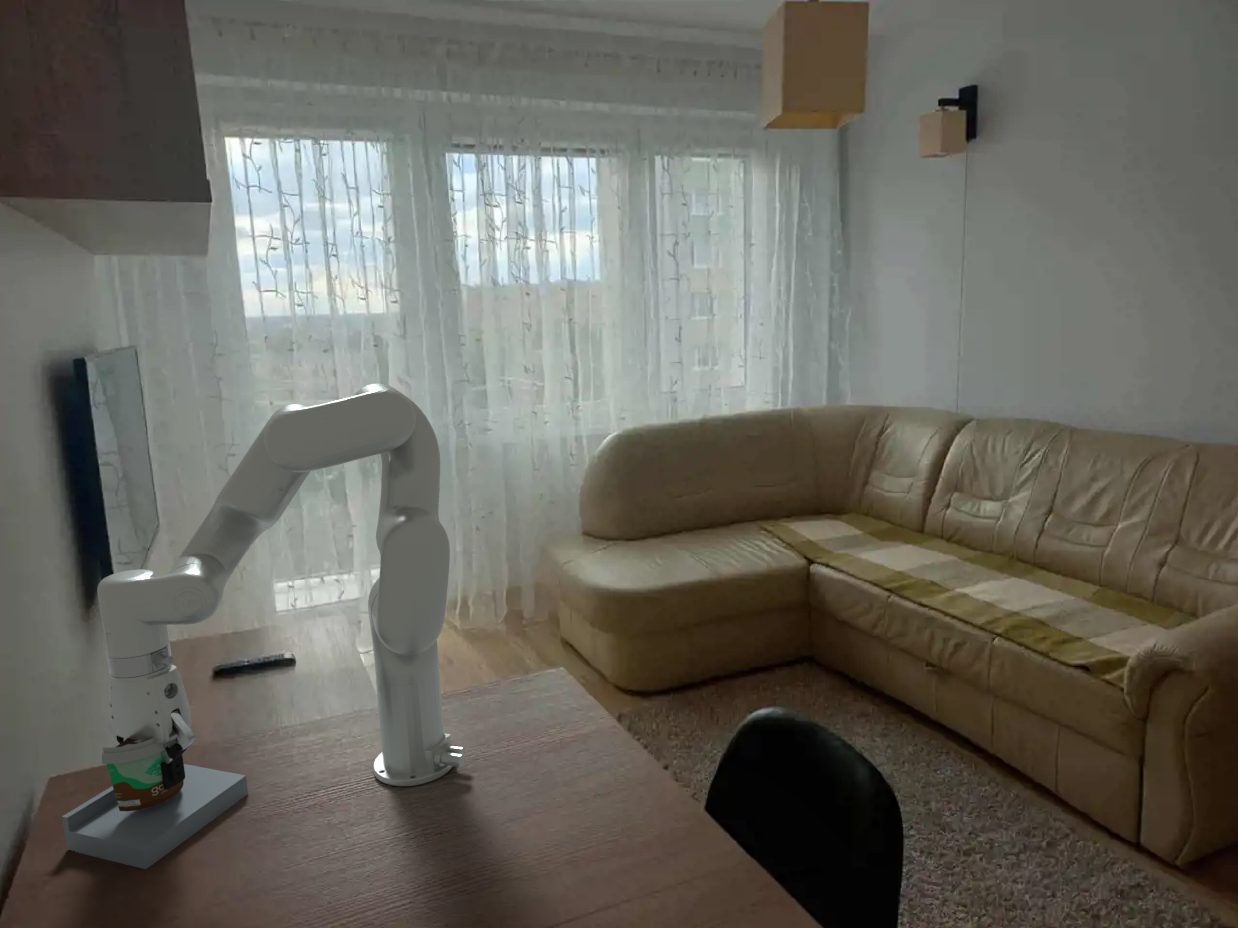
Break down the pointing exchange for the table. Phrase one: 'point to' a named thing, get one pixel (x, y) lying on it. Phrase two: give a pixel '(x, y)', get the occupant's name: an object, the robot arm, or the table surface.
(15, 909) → the table surface
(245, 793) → the stand
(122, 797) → the food container
